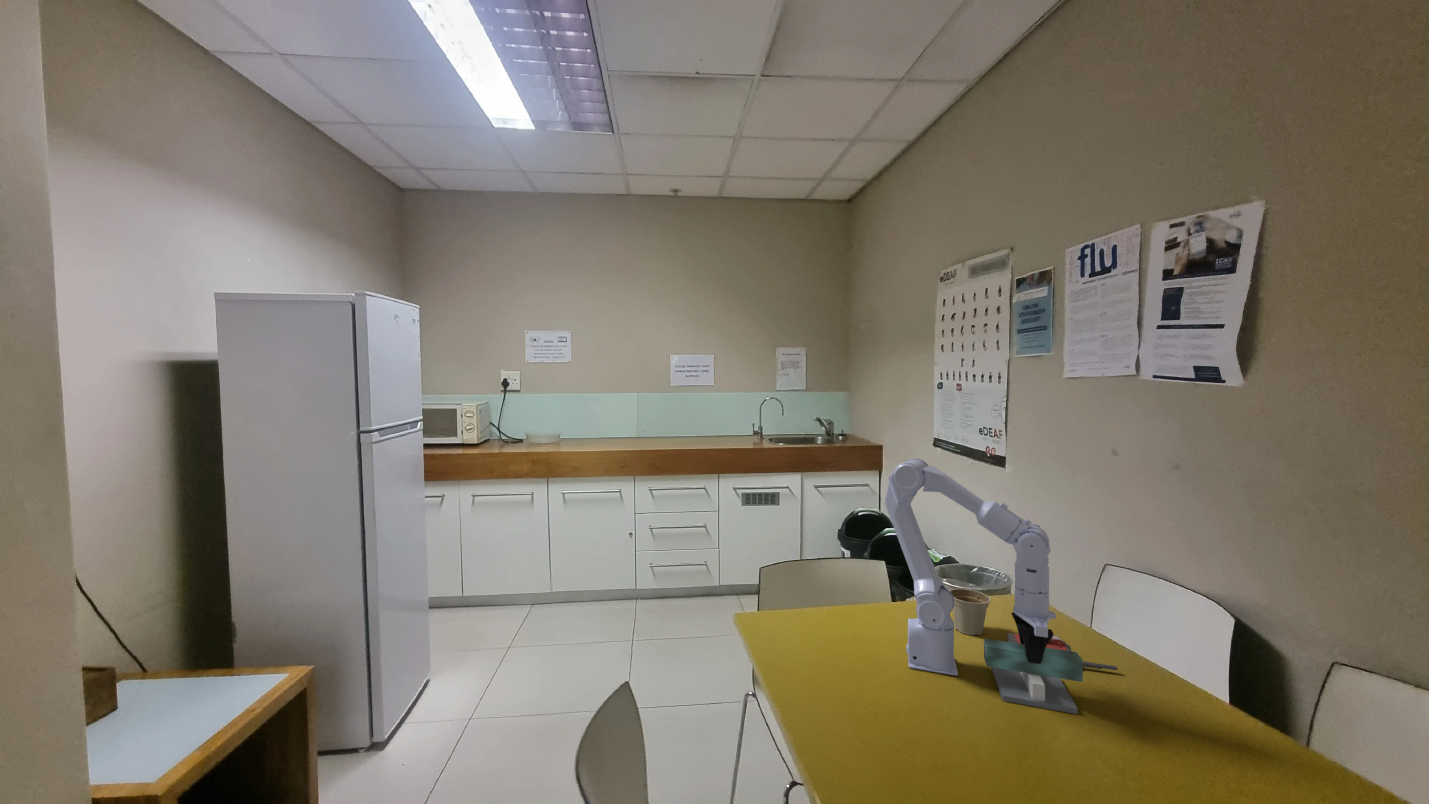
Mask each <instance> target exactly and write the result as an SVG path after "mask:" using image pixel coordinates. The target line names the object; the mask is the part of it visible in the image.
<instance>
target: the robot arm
mask: <svg viewBox="0 0 1429 804" xmlns="http://www.w3.org/2000/svg"><path fill="white" fill-rule="evenodd" d="M922 487H923V490H922V492H929V493H930V492H931V493H941V494H942V495H944V496H945V497H947V498H948V499H950V500H951V501H953V502H955V503H957V504H958V505H959V506H961V507H963V508H965V509H966V510H967V511H969V512H971V513H972V514H974V515H975V517H976V521H977V524H978V525H980V526H981V527H983V528H984V529H986V530H987V531H988V532H990V533H992V534H993V535H994V536H995V537H996V536H997V538H998V539H1001V541H1003V542H1005V543H1006V544H1009V545H1012V546H1013V549H1014V551H1015V554H1016V558H1015V563H1014V605H1013V608H1012V609H1013V612H1011V617H1012V618H1013V620H1014V623H1015V626H1016V629H1017V631H1018V633H1017V634H1019V637H1020V643H1021V644H1024V645H1025V652H1026V657H1027V660H1028V662H1030V663H1036V664H1041V662H1042V658H1043V655H1044V651H1045V648H1046V646H1047V644H1048V642H1049V641H1050V639H1051V638H1052V637H1053V635H1054V632H1053V630H1052V629H1049V628H1048V625H1049V623H1050V620H1051V619H1053V620H1056V619H1057V614H1056V613H1055V612H1054V611H1051V610H1050V568H1049V562H1050V561H1049V560H1050V558H1049V557H1048V556H1049V555H1050V553H1051V548H1050V539H1049V536H1048V534H1047V532H1046V531H1045V530H1044V529H1043V528H1042V527H1041V526H1040V525H1038V524H1037V523H1032V521H1031V520H1029V519H1028V518H1026V519H1023V518H1022V517H1020V516H1019V515H1017V514H1016V513H1014V512H1012V511H1011V510H1010V509H1008V507H1009V505H1007V504H1006V503H1005V502H1001V503H999V502H998V501H996V500H993V501H992V500H991V501H985V500H983V499H981V498H980V497H979V496H978V495H976V494H975V493H973V492H972V491H970V490H969V489H967V488H966V487H965V486H963V485H962V484H961V483H959V482H957V481H956V480H955V479H953V478H952V477H950V476H949V475H948V474H946V473H945V472H943V471H942V470H940V469H939V468H937V467H936V466H933V465H931V464H928V463H927V462H926V461H925V460H923V459H920V458H915V457H914V458H910V459H907V460H906V461H905V462H901V463H899V464H897V465H896V466H895V468H894V469H893V470H892V471H891V473H890V475H889V476H888V485H887V490H886V495H885V498H884V499H885V500H884V504H885V508H886V511H887V512H888V516H889V518H890V521H891V523H892V526H893V530H894V532H895V535H896V537H897V539H898V542H899V544H900V549H901V550H902V553H903V556H904V558H905V562H906V563H907V567H908V569H909V571H910V576H911V577H912V580H913V589H914V590H913V591H914V592H913V593H914V594H913V595H914V597H915V601H916V606H915V607H916V608H915V609H916V610H915V612H916V616H917V617H916V618H908V619H907V643H906V649H905V650H906V654H907V658H908V659H907V660H908V663H907V664H908V667H909V668H910V669H915V670H921V671H925V672H926V671H927V672H933V673H938V674H944V675H950V676H956V677H957V676H959V673H958V668H957V664H956V659H955V624H954V619H952V617H951V613H952V612H953V608H954V604H955V601H954V597H953V595H952V594H951V592H950V590H949V589H948V588H947V587H946V585H945V584H944V581H943V579H942V578H941V576H940V575H939V574H938V573H937V571H936V569H935V566H934V563H933V560H932V558H931V555H930V553H929V549H928V547H927V544H926V542H925V539H924V536H923V533H922V532H921V528H920V526H919V524H918V521H917V518H916V516H915V513H914V511H913V508H912V507H913V506H912V505H911V503H912V502H913V501H914V498H915V496H916V495H917V493H918V491H919V490H920V489H921V488H922Z"/></svg>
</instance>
